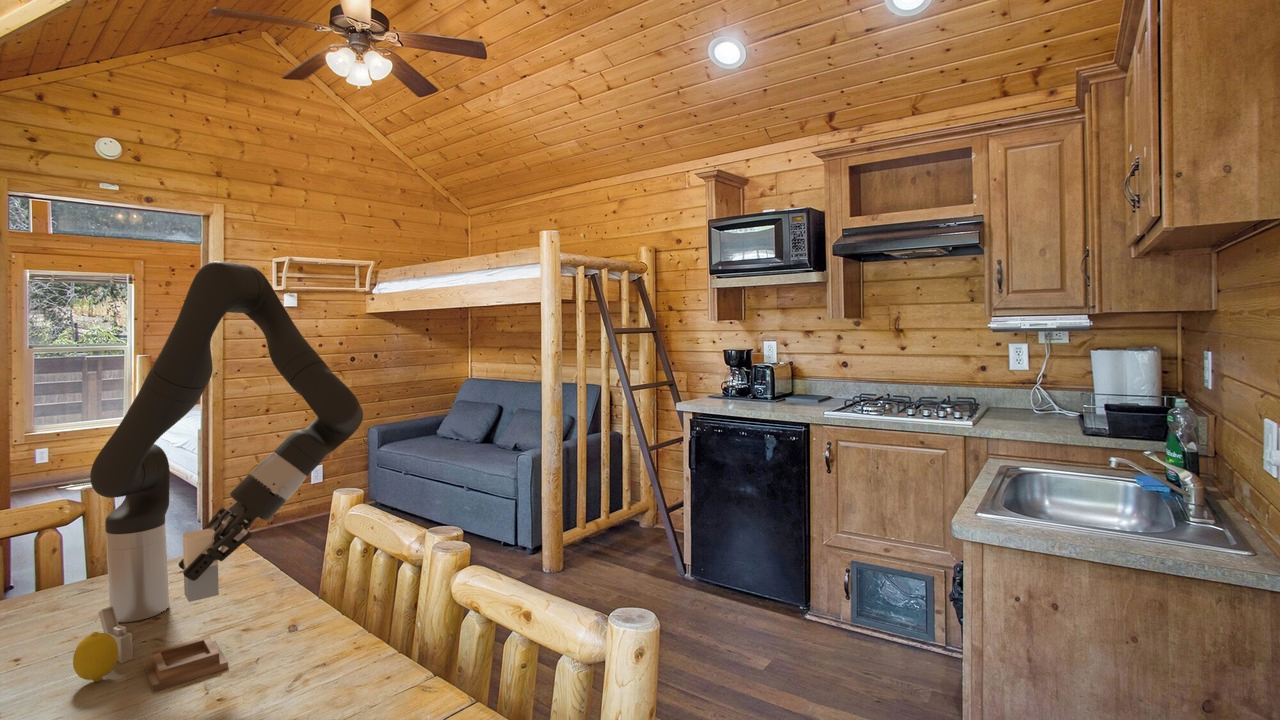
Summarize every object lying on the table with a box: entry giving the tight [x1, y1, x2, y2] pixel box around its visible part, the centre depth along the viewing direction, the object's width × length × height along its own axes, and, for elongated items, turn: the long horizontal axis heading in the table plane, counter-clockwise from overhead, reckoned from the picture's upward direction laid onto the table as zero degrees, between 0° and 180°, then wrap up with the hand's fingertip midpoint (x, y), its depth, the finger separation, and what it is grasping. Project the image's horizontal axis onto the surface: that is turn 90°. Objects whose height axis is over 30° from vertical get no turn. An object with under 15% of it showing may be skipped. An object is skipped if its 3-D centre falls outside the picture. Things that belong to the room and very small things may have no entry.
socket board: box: [143, 636, 229, 693], centre depth 106 cm, size 10×10×2 cm
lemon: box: [72, 631, 119, 683], centre depth 102 cm, size 6×6×8 cm
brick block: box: [182, 528, 220, 603], centre depth 103 cm, size 4×4×10 cm
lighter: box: [98, 606, 134, 664], centre depth 110 cm, size 7×2×8 cm, turn 63°
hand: (186, 572), depth 102 cm, fingers closed on brick block, 4 cm apart
